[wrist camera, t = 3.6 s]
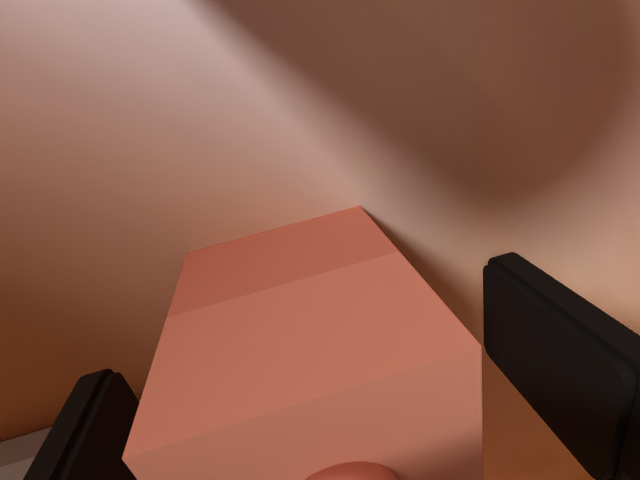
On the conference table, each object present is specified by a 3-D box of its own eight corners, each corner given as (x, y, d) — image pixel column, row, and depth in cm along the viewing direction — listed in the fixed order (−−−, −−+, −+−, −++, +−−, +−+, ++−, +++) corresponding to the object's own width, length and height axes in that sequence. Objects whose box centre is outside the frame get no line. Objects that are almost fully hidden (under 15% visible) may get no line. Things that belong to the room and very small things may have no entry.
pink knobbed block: (187, 252, 10) (98, 529, 4) (359, 205, 10) (520, 391, 4) (241, 378, 12) (239, 679, 6) (382, 336, 13) (509, 580, 7)
